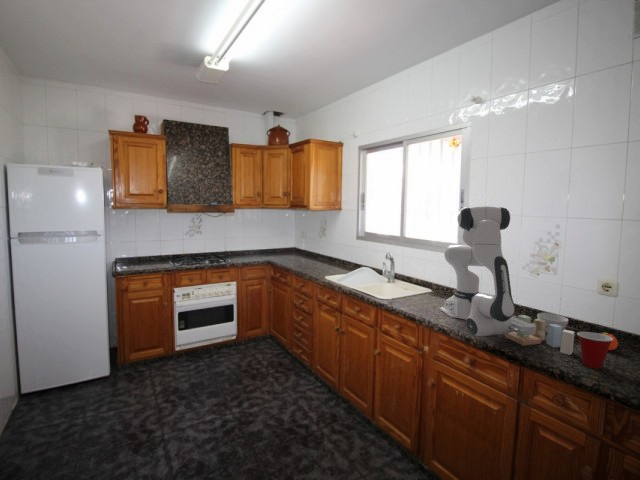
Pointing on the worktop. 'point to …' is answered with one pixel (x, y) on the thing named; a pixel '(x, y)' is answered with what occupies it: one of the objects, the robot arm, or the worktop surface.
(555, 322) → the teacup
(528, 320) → the sage green post
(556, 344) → the dusty blue post
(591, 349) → the plastic cup
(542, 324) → the beech post
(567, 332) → the cream post
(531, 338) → the terracotta tile
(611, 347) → the clementine
